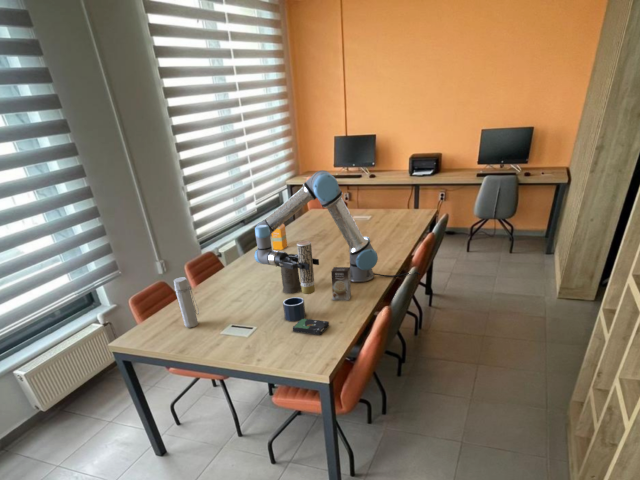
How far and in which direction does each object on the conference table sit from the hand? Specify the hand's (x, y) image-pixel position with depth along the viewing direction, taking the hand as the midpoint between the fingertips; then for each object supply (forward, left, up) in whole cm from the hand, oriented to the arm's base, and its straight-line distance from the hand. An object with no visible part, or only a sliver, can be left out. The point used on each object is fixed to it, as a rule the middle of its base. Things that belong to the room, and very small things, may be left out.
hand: (313, 264), depth 221 cm
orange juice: (+48, -112, -24) cm, 125 cm away
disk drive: (-1, +22, -24) cm, 33 cm away
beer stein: (+20, -31, -24) cm, 45 cm away
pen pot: (+10, +8, -24) cm, 27 cm away
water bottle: (+64, +16, -24) cm, 71 cm away
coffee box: (-11, -15, -24) cm, 31 cm away
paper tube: (+5, -2, -15) cm, 16 cm away
